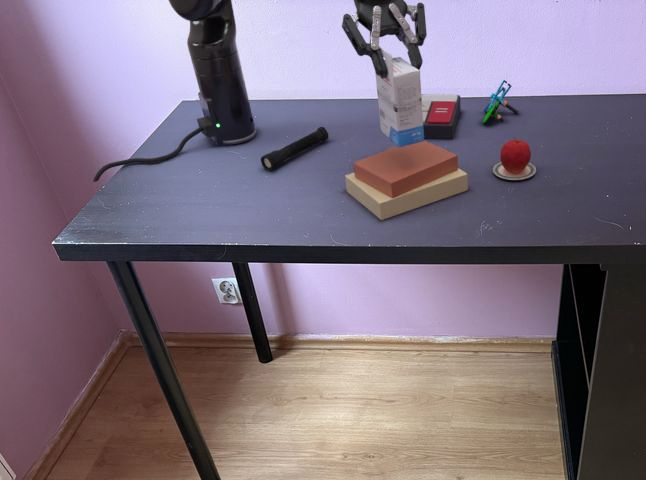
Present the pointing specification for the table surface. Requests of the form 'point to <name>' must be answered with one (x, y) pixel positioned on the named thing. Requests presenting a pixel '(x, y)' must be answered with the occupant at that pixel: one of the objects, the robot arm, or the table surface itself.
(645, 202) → the table surface
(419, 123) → the ink box
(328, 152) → the table surface
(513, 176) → the apple
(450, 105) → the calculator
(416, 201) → the book stack
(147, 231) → the table surface
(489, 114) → the stick construction toy
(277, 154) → the flashlight
